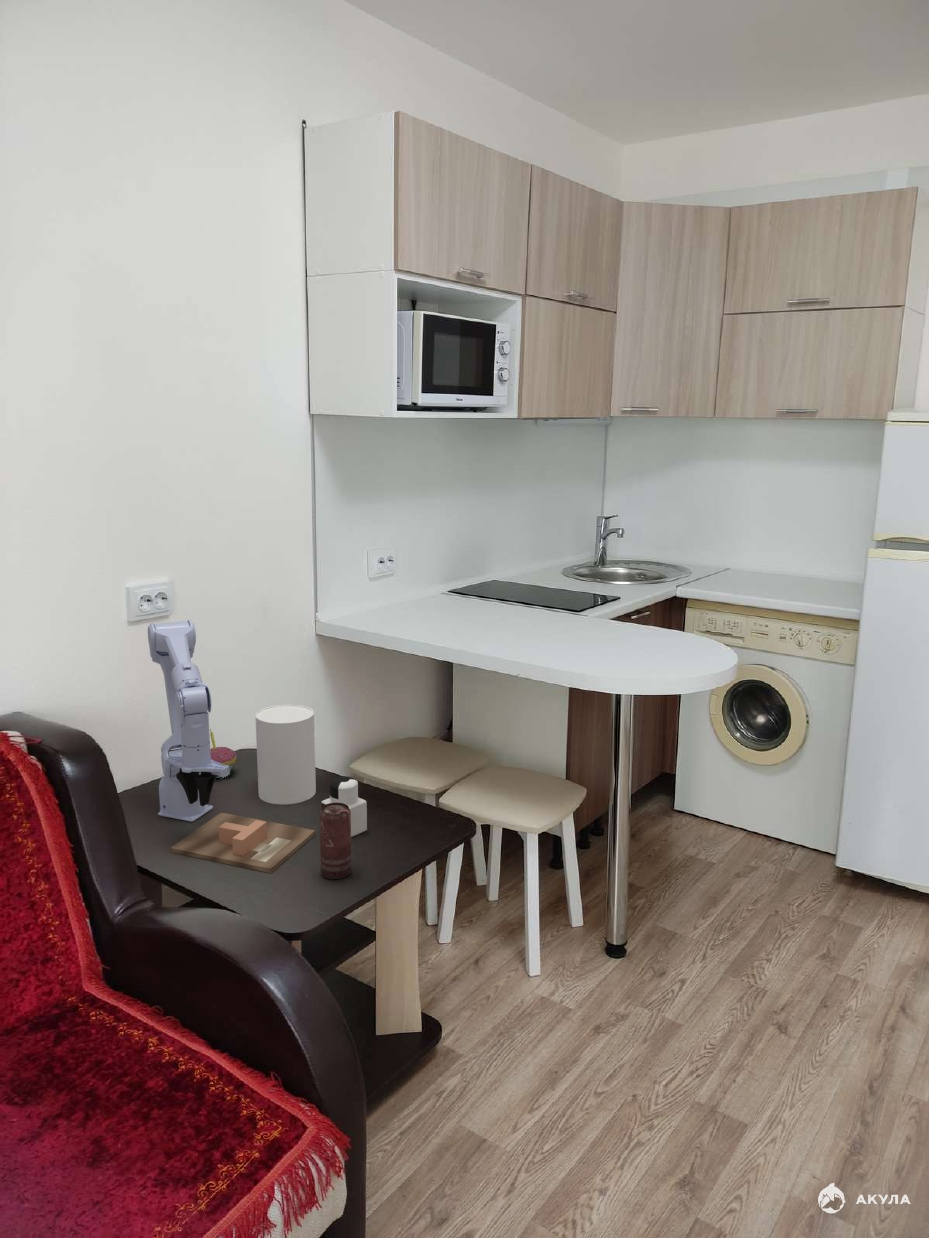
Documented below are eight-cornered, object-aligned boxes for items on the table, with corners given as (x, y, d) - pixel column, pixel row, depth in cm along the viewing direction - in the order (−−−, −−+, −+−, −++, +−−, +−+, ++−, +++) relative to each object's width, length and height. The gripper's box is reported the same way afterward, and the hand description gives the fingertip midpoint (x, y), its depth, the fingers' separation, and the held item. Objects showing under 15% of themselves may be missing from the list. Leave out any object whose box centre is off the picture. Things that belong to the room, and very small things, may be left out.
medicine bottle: (321, 830, 198) (320, 779, 196) (346, 820, 203) (345, 770, 201) (342, 841, 194) (341, 789, 191) (367, 830, 199) (367, 779, 196)
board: (170, 852, 188) (170, 847, 188) (221, 816, 204) (221, 812, 204) (271, 873, 180) (270, 868, 180) (315, 834, 196) (315, 830, 196)
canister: (246, 795, 215) (243, 716, 211) (285, 776, 227) (283, 700, 222) (289, 809, 209) (286, 727, 204) (327, 789, 220) (325, 711, 215)
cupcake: (196, 780, 224) (194, 734, 221) (211, 767, 232) (209, 722, 229) (229, 782, 222) (227, 736, 220) (243, 769, 231) (241, 725, 228)
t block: (210, 849, 187) (209, 833, 186) (234, 830, 195) (234, 815, 195) (243, 855, 185) (242, 840, 184) (267, 836, 193) (266, 821, 192)
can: (347, 882, 177) (346, 816, 174) (316, 878, 178) (314, 812, 175) (356, 867, 183) (356, 803, 180) (327, 863, 184) (325, 799, 181)
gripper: (154, 744, 187) (158, 805, 190) (213, 754, 182) (217, 816, 185) (175, 733, 193) (179, 792, 197) (233, 742, 189) (236, 802, 192)
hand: (199, 803), depth 191 cm, fingers closed
